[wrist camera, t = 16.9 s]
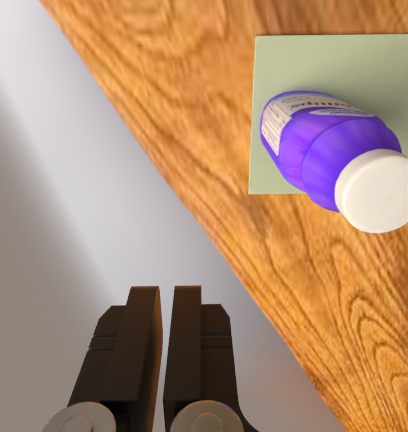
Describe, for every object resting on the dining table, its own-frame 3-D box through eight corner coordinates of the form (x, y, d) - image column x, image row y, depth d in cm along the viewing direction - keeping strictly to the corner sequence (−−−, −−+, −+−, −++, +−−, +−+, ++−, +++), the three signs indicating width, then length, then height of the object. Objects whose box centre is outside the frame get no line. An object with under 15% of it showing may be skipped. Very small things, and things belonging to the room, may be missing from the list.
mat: (519, 188, 37) (524, 191, 36) (247, 192, 37) (248, 194, 36) (579, 31, 31) (586, 31, 30) (254, 35, 31) (256, 35, 30)
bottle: (344, 89, 32) (480, 139, 16) (332, 153, 35) (441, 250, 19) (260, 87, 32) (317, 135, 16) (254, 151, 34) (299, 247, 19)
